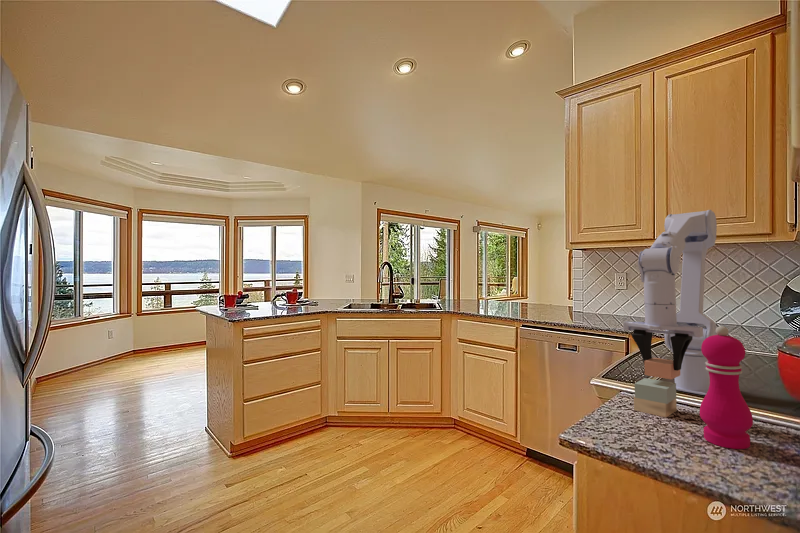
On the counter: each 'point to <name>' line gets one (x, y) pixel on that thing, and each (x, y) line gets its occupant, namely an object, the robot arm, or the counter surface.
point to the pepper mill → (725, 393)
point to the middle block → (655, 390)
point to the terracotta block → (660, 368)
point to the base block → (655, 407)
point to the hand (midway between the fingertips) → (662, 367)
